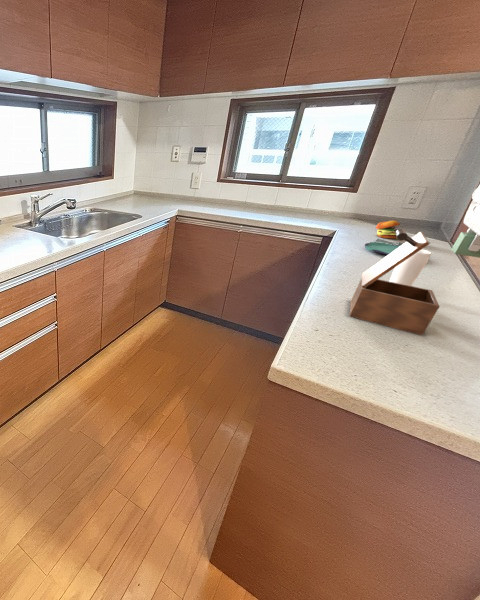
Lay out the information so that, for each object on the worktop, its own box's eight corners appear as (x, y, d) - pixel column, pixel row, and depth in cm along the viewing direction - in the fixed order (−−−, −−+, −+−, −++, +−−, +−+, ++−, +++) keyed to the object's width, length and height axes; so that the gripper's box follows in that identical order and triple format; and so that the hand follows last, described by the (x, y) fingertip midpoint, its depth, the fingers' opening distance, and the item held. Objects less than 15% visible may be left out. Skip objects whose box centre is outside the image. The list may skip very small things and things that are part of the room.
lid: (423, 233, 88) (404, 221, 89) (429, 243, 79) (409, 230, 80) (364, 275, 99) (348, 264, 100) (364, 288, 90) (347, 275, 91)
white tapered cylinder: (403, 290, 111) (426, 249, 104) (412, 298, 106) (436, 255, 99) (379, 287, 114) (399, 246, 107) (386, 294, 108) (408, 251, 101)
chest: (416, 317, 95) (432, 290, 91) (422, 335, 86) (439, 306, 82) (350, 301, 103) (362, 275, 99) (349, 316, 94) (362, 288, 90)
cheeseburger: (395, 240, 168) (398, 221, 165) (370, 240, 177) (372, 221, 175) (404, 238, 172) (407, 219, 170) (379, 238, 181) (381, 219, 179)
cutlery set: (358, 251, 150) (360, 247, 149) (371, 240, 168) (373, 236, 167) (416, 263, 137) (419, 258, 136) (423, 250, 155) (426, 245, 154)
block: (476, 253, 88) (487, 235, 86) (481, 258, 85) (493, 239, 82) (451, 249, 91) (461, 231, 89) (454, 253, 87) (465, 235, 85)
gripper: (536, 201, 72) (497, 260, 78) (507, 191, 86) (477, 242, 92) (494, 197, 75) (460, 254, 81) (473, 189, 90) (446, 237, 96)
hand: (469, 247), depth 87 cm, fingers closed on block, 5 cm apart
